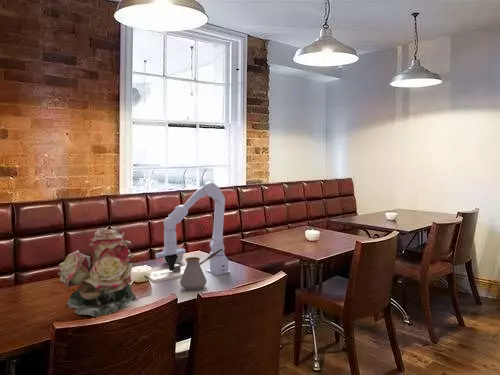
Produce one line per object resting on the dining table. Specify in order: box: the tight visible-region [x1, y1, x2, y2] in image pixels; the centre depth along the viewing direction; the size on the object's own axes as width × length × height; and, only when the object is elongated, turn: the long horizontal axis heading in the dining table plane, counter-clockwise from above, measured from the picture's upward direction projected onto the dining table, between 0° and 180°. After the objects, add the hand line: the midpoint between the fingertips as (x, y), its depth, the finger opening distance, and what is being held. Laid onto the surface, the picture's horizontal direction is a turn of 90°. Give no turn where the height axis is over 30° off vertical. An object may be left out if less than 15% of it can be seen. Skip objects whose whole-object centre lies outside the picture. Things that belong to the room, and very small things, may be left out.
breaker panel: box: [149, 265, 186, 283], centre depth 196 cm, size 12×22×1 cm, turn 125°
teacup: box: [162, 246, 184, 264], centre depth 215 cm, size 14×11×8 cm
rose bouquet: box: [57, 227, 138, 318], centre depth 158 cm, size 26×29×30 cm
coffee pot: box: [179, 249, 225, 292], centre depth 180 cm, size 21×12×15 cm, turn 127°
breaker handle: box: [173, 263, 181, 272], centre depth 198 cm, size 3×3×3 cm
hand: (171, 270), depth 196 cm, fingers closed
